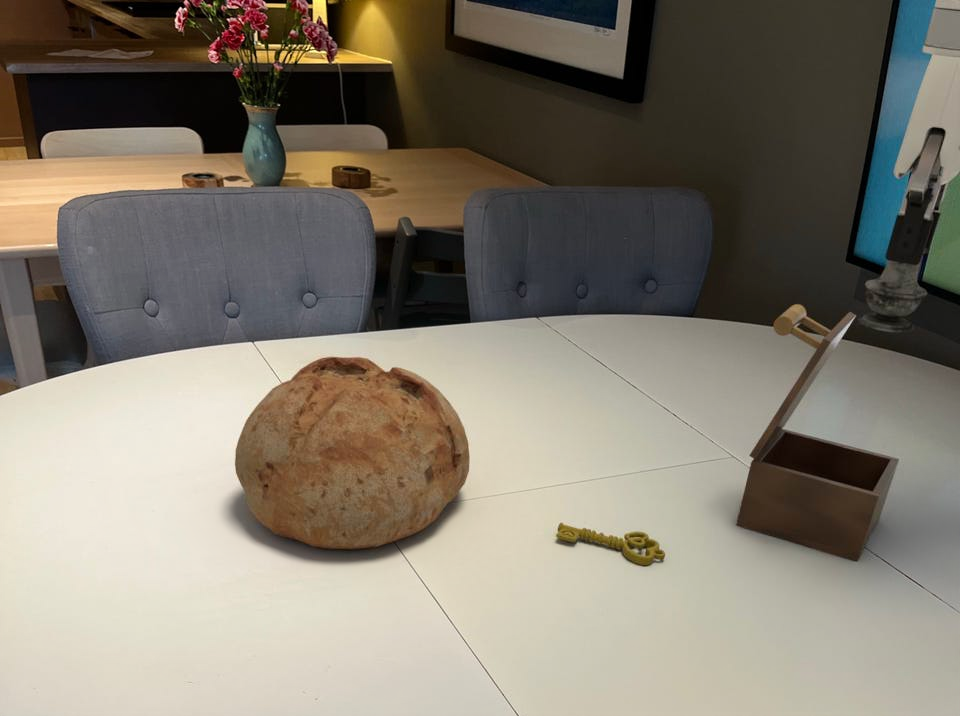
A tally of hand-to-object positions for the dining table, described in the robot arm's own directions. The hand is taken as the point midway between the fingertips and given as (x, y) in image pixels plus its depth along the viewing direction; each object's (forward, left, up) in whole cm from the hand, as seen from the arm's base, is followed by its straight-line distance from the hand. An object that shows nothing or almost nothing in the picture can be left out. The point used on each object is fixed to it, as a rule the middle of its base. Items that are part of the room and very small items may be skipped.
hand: (906, 255), depth 96 cm
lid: (+6, -2, -15) cm, 16 cm away
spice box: (+2, 0, -30) cm, 30 cm away
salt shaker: (0, 0, -7) cm, 7 cm away
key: (+24, +12, -30) cm, 40 cm away
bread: (+53, +10, -30) cm, 61 cm away
